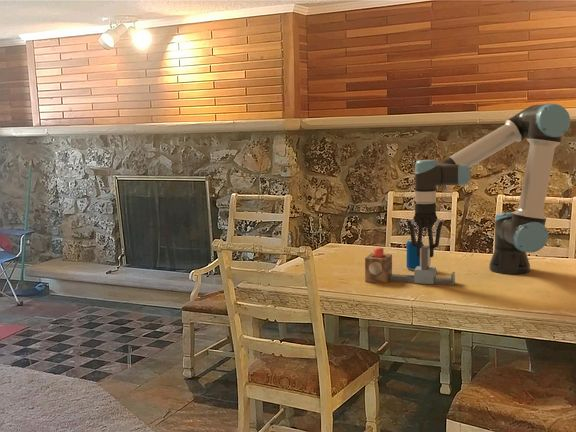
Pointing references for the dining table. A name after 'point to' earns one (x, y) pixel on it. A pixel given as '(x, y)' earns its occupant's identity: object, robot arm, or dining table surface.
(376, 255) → the gauge button
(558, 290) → the dining table surface
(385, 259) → the brown button box
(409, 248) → the beverage can
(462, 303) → the dining table surface
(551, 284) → the dining table surface
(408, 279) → the rail
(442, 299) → the dining table surface
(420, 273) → the carriage
